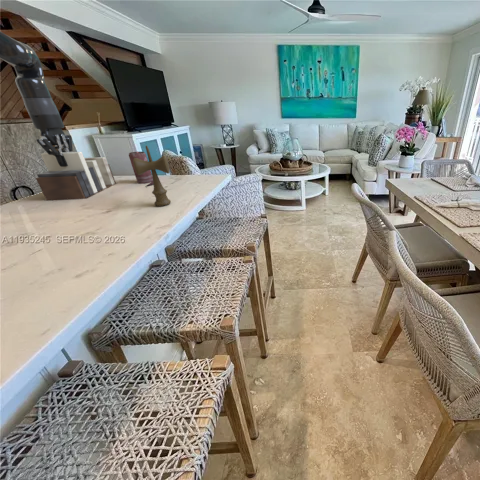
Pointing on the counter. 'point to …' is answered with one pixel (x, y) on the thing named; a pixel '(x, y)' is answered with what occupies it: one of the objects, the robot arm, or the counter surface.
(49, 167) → the cream book
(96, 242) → the counter surface
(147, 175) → the can
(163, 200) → the kendama
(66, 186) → the book rack
